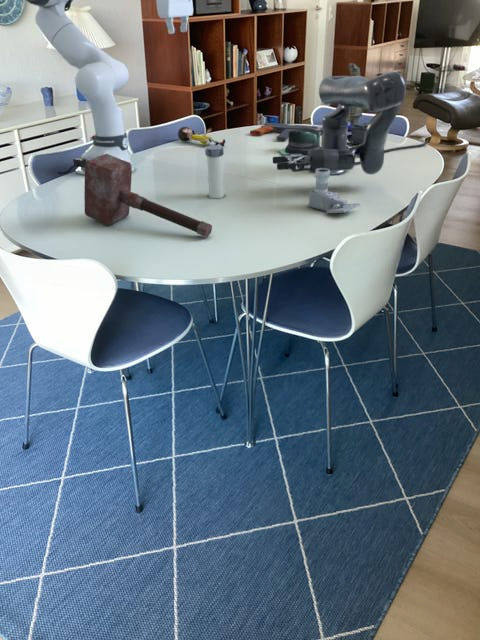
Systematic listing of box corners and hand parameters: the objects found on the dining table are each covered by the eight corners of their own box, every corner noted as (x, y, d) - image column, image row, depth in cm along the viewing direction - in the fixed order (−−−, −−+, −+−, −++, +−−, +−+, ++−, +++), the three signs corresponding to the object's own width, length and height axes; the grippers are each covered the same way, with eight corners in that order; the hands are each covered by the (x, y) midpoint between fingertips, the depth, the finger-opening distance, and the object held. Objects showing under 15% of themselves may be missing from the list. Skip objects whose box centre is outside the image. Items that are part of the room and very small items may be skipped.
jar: (205, 196, 187) (203, 149, 179) (216, 192, 190) (214, 146, 182) (216, 199, 184) (214, 151, 176) (226, 195, 187) (225, 148, 179)
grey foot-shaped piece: (322, 165, 173) (363, 174, 165) (319, 201, 179) (359, 212, 171) (305, 171, 168) (347, 180, 159) (303, 208, 174) (344, 219, 165)
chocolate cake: (332, 145, 241) (326, 158, 224) (294, 164, 249) (286, 177, 233) (317, 113, 235) (310, 124, 219) (279, 133, 244) (269, 145, 228)
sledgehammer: (221, 197, 152) (105, 152, 164) (203, 207, 145) (83, 159, 156) (213, 251, 162) (103, 205, 174) (195, 264, 155) (82, 215, 166)
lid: (201, 155, 180) (201, 147, 179) (214, 151, 184) (214, 144, 183) (214, 157, 177) (214, 150, 175) (227, 154, 180) (227, 146, 179)
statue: (367, 132, 266) (374, 63, 251) (349, 133, 264) (355, 64, 249) (357, 127, 275) (362, 61, 260) (339, 129, 273) (344, 62, 258)
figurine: (211, 139, 238) (170, 125, 250) (210, 157, 242) (170, 142, 255) (230, 134, 247) (190, 120, 259) (229, 150, 251) (189, 136, 263)
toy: (345, 120, 249) (377, 123, 242) (343, 139, 253) (375, 143, 246) (337, 123, 243) (369, 127, 236) (336, 143, 247) (367, 147, 240)
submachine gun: (243, 132, 260) (267, 122, 278) (243, 138, 261) (267, 127, 280) (305, 138, 246) (326, 127, 265) (305, 144, 248) (326, 133, 266)
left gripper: (179, -16, 185) (182, 30, 192) (151, -17, 169) (155, 34, 176) (196, -17, 183) (198, 30, 190) (170, -17, 167) (173, 34, 174)
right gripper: (318, 144, 189) (271, 147, 188) (328, 154, 177) (278, 156, 176) (317, 166, 193) (271, 169, 192) (327, 177, 181) (278, 180, 179)
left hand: (177, 32), depth 183 cm, fingers open, 8 cm apart
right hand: (274, 163), depth 184 cm, fingers open, 8 cm apart
